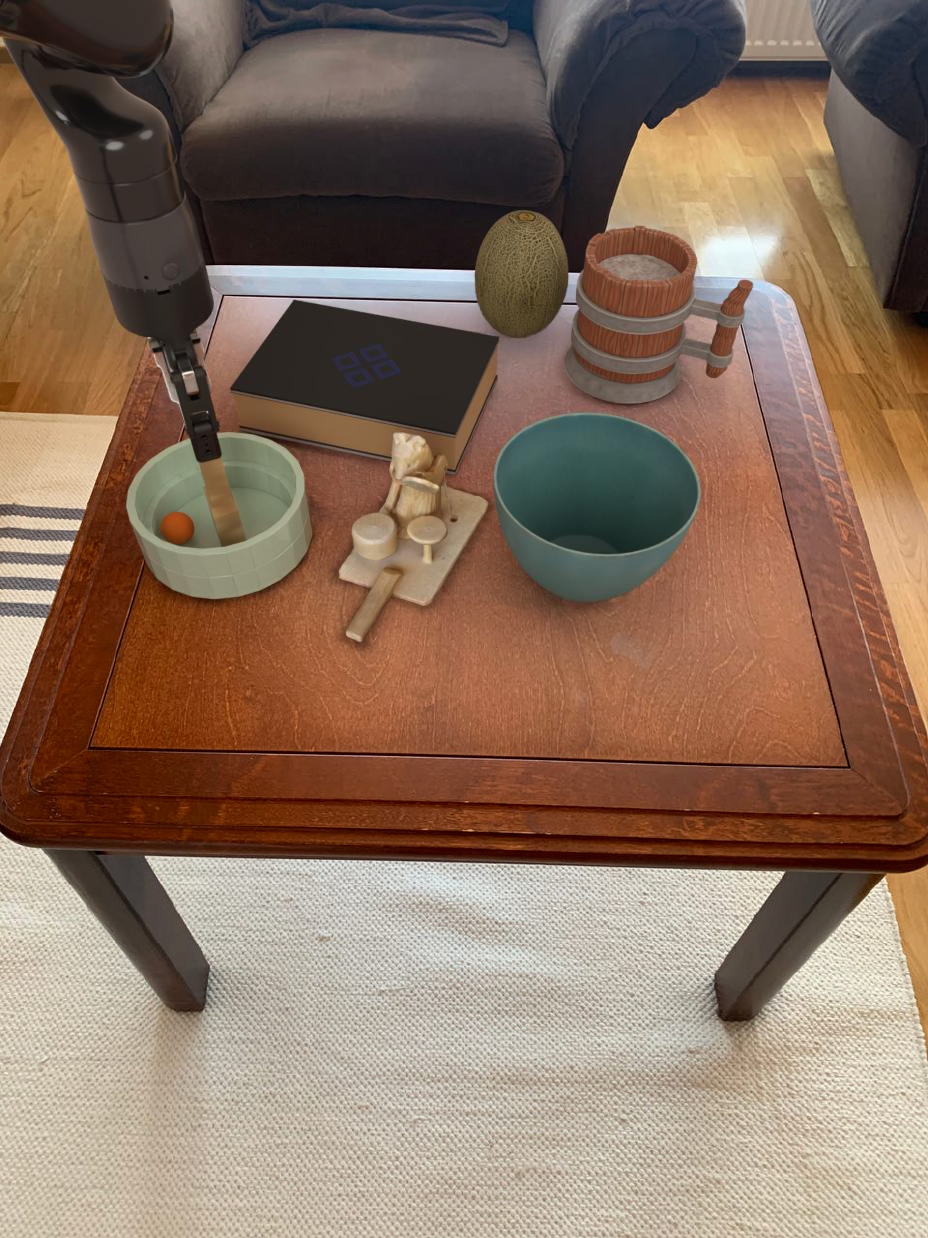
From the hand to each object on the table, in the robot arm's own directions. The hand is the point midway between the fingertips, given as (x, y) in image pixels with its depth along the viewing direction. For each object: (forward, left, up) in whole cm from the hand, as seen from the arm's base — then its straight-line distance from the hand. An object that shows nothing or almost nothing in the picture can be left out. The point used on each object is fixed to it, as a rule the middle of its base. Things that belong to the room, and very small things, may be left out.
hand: (198, 428), depth 81 cm
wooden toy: (+15, -9, -15) cm, 23 cm away
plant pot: (+31, -17, -15) cm, 38 cm away
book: (+20, +14, -15) cm, 29 cm away
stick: (0, 0, -14) cm, 14 cm away
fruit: (+42, +22, -15) cm, 50 cm away
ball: (-4, +1, -12) cm, 13 cm away
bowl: (0, 0, -15) cm, 15 cm away
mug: (+52, +8, -15) cm, 55 cm away
